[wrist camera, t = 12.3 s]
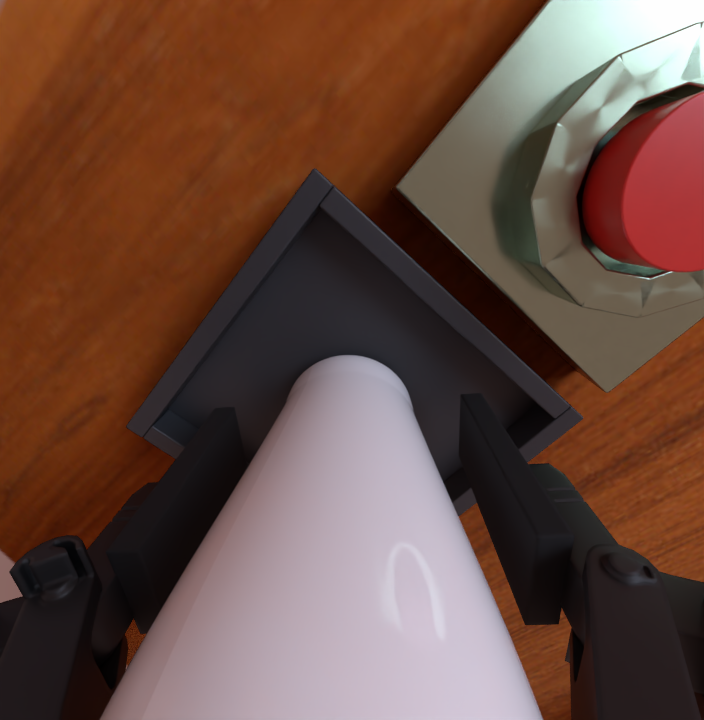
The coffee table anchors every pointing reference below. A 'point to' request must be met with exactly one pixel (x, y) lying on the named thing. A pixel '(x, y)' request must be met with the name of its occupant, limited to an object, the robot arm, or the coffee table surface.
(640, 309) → the grey button housing
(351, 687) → the white cup
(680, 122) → the brew button
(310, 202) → the tray
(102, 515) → the coffee table surface
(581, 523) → the robot arm
